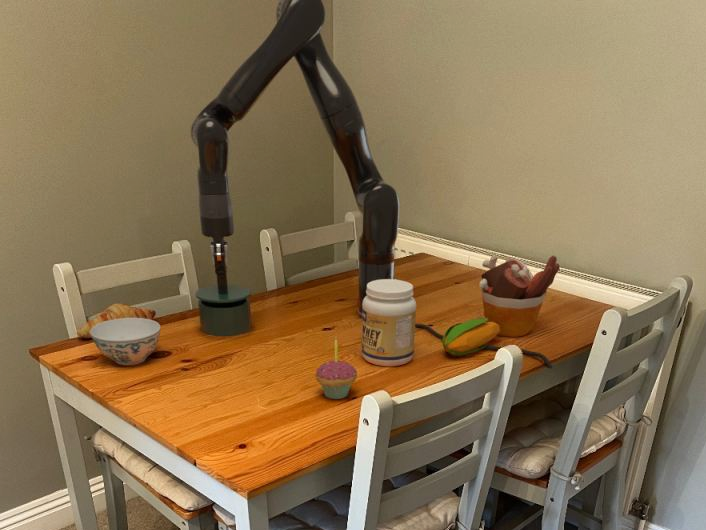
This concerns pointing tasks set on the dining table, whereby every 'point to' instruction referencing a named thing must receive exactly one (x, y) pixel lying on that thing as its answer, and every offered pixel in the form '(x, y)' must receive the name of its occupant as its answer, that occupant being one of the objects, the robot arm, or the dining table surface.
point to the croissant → (115, 316)
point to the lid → (223, 293)
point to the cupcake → (336, 376)
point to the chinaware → (126, 339)
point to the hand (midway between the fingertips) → (222, 287)
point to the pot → (225, 318)
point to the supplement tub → (388, 322)
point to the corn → (469, 336)
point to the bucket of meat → (514, 294)
